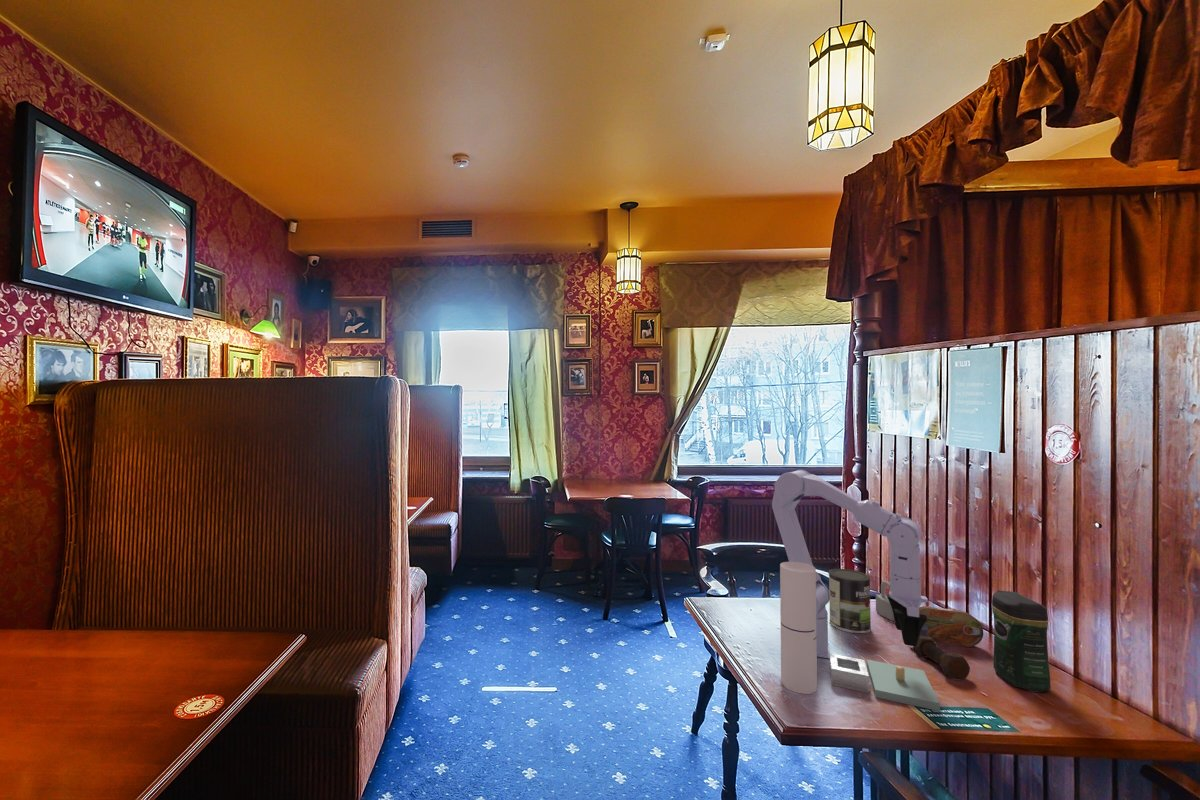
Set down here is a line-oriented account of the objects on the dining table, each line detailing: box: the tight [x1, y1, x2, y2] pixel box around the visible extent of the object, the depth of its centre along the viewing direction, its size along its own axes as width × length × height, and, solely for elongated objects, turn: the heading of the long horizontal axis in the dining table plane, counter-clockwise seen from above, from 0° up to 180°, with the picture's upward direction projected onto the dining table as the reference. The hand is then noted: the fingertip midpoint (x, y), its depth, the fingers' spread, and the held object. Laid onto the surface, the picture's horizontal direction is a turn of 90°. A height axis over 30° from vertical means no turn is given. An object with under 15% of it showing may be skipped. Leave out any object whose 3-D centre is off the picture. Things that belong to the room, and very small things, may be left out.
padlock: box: [875, 580, 895, 622], centre depth 134 cm, size 7×4×10 cm, turn 2°
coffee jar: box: [991, 590, 1051, 693], centre depth 101 cm, size 10×8×19 cm
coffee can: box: [828, 568, 872, 634], centre depth 127 cm, size 10×10×14 cm
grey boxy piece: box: [829, 653, 870, 694], centre depth 100 cm, size 7×7×4 cm
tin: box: [919, 605, 984, 648], centre depth 118 cm, size 15×3×8 cm, turn 68°
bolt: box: [913, 635, 971, 681], centre depth 108 cm, size 6×5×15 cm
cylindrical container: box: [779, 561, 818, 695], centre depth 99 cm, size 7×7×25 cm
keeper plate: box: [866, 659, 941, 712], centre depth 98 cm, size 11×13×4 cm
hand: (905, 637), depth 101 cm, fingers open, 7 cm apart
